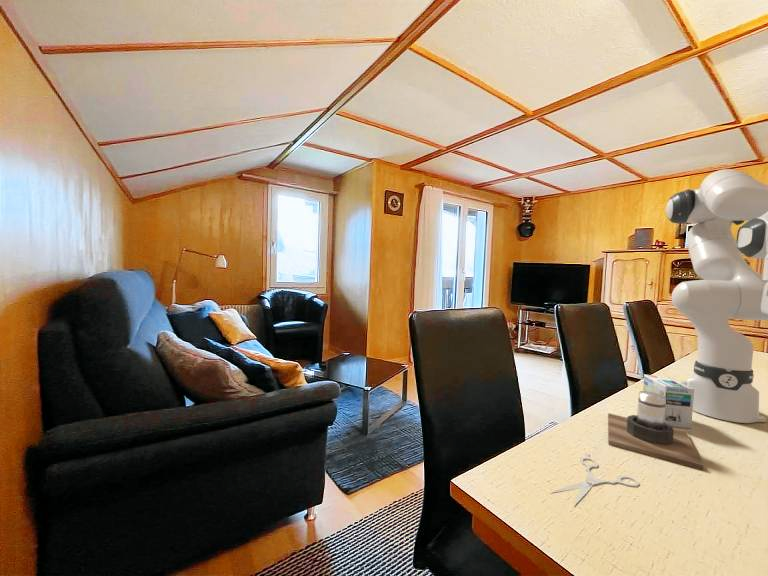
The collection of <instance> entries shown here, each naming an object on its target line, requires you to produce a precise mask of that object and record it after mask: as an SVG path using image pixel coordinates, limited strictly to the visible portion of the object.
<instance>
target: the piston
mask: <svg viewBox="0 0 768 576" xmlns="http://www.w3.org/2000/svg"><path fill="white" fill-rule="evenodd" d="M637 402H638V403H637V414H636V415H637V424H639V425H642V426H644V427H647V428H651V429H656V430H663V427H664V416H665V407H666V397H665V396H663V395H661V394H658V393H654V392H649V391H643V390H640V391H639V392H638V401H637Z"/></svg>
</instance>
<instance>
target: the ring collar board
mask: <svg viewBox="0 0 768 576" xmlns="http://www.w3.org/2000/svg"><path fill="white" fill-rule="evenodd" d="M607 426H608V428H607V430H608V432H607V435H608V436H607V440H608V442H607V443H608V445H610V446H613V447H617V448H622V449H625V450H629V451H632V452H635V453H639V454H643V455H647V456H650V457H652V458H653V457H654V458H658V459H661V460H665V461H668V462H672V463H676V464H680V465H683V466H686V467H690V468H694V469H698V470H701V471H703V470H704V464H703V462H702V460H701V458H700V456H699V455H698V452H697V450H696V448H695V446H694V445H693V443H692V440H691V439H690V437H689V435H688V433H687V431H686V430H683V429H679V428H676V427H673V426H670V425H668V424H667V423H665V422H664V427H663V430H656V429H651V428H647V427H644V426H642V425H639V424H637V414H636V415H635V414H632V415H627V417H626V416H622V415H617V414H614V413H610V412H608V414H607Z"/></svg>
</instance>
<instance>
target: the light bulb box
mask: <svg viewBox="0 0 768 576" xmlns="http://www.w3.org/2000/svg"><path fill="white" fill-rule="evenodd" d="M642 384H643V385H642V391H649V392H654V393H658V394H661V395H663V396H665V397H666V407H665V416H664V422H665V423H667V424H668V425H670V426H672V427H673V428H676V427H677V428H685V429H692V423H693V420H692V419H693V412H694V411H693V399H694V389H693V388H691V387H688V386H686V385H684V384H682V382H680V381H678V380H675V379H673V378H671V377H670V376H663V375H652V374H643V383H642Z"/></svg>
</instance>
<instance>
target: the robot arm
mask: <svg viewBox="0 0 768 576" xmlns="http://www.w3.org/2000/svg"><path fill="white" fill-rule="evenodd" d="M665 213H666V216H667V220H669V221H670V222H671V223H672V224H683V225H684V224H694V225H693V226H692V227H691V228H690V229H689V231H688V233H687V247H688V253H689V257H690V260H691V264H692V268H693V271H694V273H695V274H696V275H697V276H698V277H699V278H701V279H698V280H697V279H695V280H688V281H687V280H685V281H682V282H680V283H679V284H677V285H676V286H675V287H674V289H673V290H672V292H671V303H672V305H673V307H674V308H675V309H676V311H677V312H679V313H680V314H682V315H683V316H685V318H687V319H688V320H689V321H690V322H691V324H692V325H693V328H694V329H695V332H696V336H697V356H696V357H697V359H696V360H695V361H694V365H693V374H692V375H691V376H690V377H689V378H688V379H687V380H681V383H682V384H684V385H686V386H688V387H691V388H693V389H694V399H693V411H692V412H696V413H698V414H702V415H704V416H708V417H711V418H715V419H718V420H722V421H727V422H731V423H732V422H734V423H739V424H740V423H742V424H753V423H766V422H767V418H766V417H765V416H763V415H762V414H760V391H759V390H758V389H757V388H756V387H754V386H753V384H752V383H754V382H753V381H754V378H755V377H754V376H755V375H754V370H753V369H752V367H753V358H754V357H753V356H754V346H755V345H754V343H753V342H752V341H751V339H749V337H747V336H746V335H744V334H742V333H740V332H738V331H736V330H734V329H732V328H731V325H730V324H729V323H730V322H729V320H730V319H732V320H733V319H734V320H746V321H747V320H748V321H768V184H766V183H763V182H761V181H758V180H757V179H756V178H754V176H753V177H752V176H751V175H749V174H747V173H746V172H743V171H740V170H738V169H733V168H722V169H719V170H718V169H717V171H714V172H712V173H710V174H708V175H707V176H706V177H705V178H704V179H703V180H702V182H701V184H700V187H699V188H696V189H686V190H683V191H680V192H677V193H674V194H673V195H672V196H671V197H669V198H668V200H667V203H666V206H665ZM745 221H747V222H745ZM744 222H745V223H744ZM695 223H696V224H695ZM743 223H744V224H743ZM733 224H734V225H736V226H739V225H741V226H740V227H738V230H737V234H736V238H735V237H734V235H733V233H732V225H733ZM743 255H744V256H745V257H747V258H752V259H758V260H760V259H761V260H762V259H764V260H763V261H764V263H763V271H762V274H761V273H760V272H758V271H756V270H755V269H754V268H752V267H751V266H750V264H748V263H747V261H746V260H745V258H744V257H743Z"/></svg>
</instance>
